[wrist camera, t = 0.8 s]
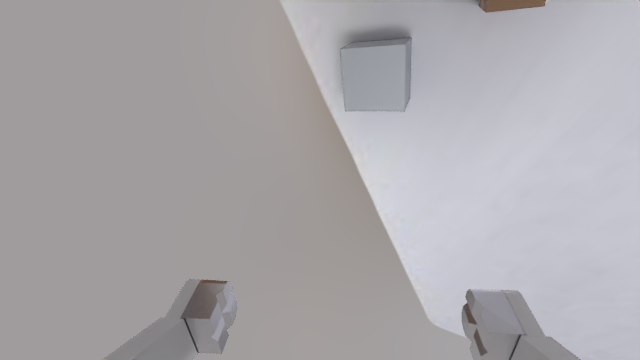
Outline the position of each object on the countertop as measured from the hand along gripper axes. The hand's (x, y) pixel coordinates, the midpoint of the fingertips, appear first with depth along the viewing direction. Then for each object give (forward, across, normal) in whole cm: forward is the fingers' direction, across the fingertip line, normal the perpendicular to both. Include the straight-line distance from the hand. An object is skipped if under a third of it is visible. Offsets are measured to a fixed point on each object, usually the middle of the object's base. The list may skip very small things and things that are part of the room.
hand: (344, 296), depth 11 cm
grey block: (+40, -4, 0) cm, 40 cm away
